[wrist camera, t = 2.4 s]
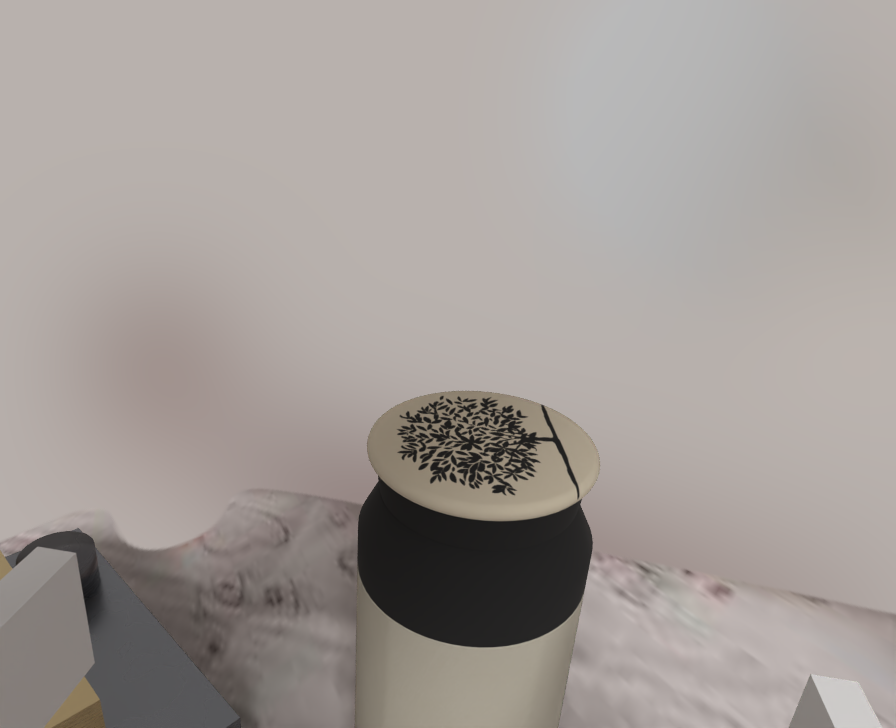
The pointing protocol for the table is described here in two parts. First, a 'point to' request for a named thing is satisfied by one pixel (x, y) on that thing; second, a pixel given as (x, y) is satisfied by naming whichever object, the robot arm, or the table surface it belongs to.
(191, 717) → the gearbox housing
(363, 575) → the travel mug
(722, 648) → the table surface
